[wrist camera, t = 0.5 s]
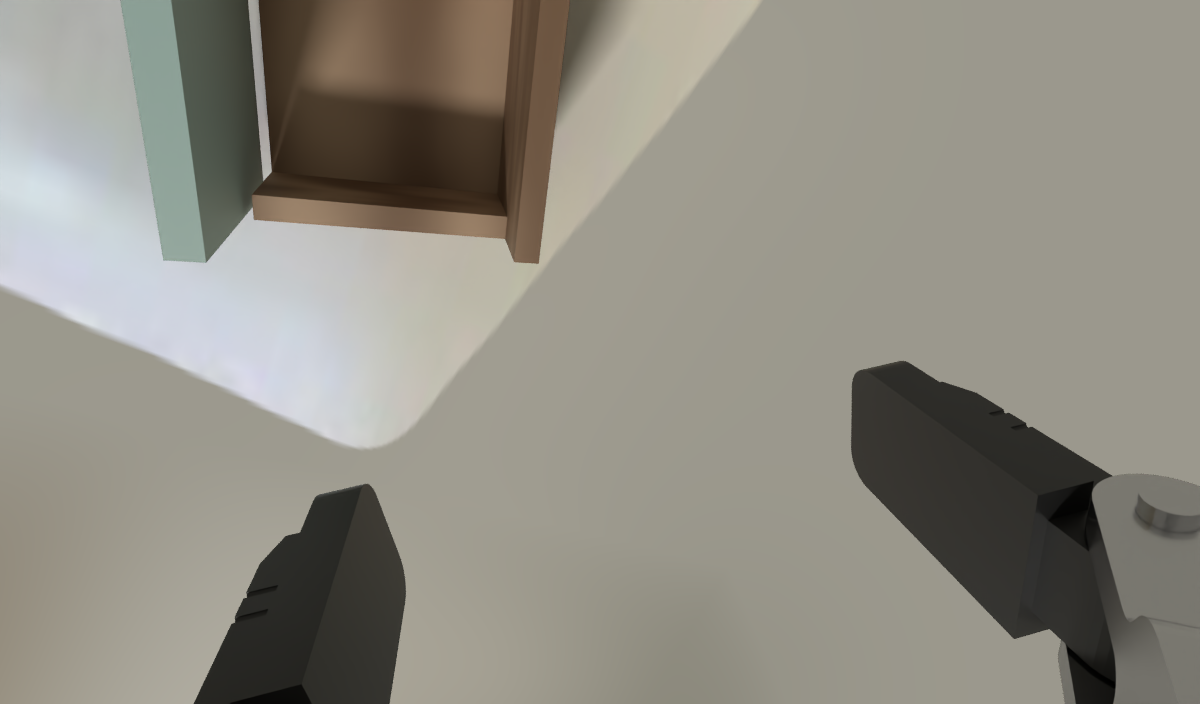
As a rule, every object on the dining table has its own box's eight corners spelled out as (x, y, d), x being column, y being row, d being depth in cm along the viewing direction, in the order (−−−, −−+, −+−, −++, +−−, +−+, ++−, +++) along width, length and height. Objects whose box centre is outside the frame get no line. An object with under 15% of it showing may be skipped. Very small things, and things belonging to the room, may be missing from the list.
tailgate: (237, 187, 28) (163, 260, 20) (203, -140, 23) (83, -224, 14) (266, 190, 28) (206, 262, 20) (240, -131, 23) (143, -209, 15)
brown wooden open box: (285, 178, 30) (235, 243, 22) (265, -118, 25) (188, -183, 17) (507, 199, 34) (538, 263, 25) (531, -59, 28) (580, -88, 20)
